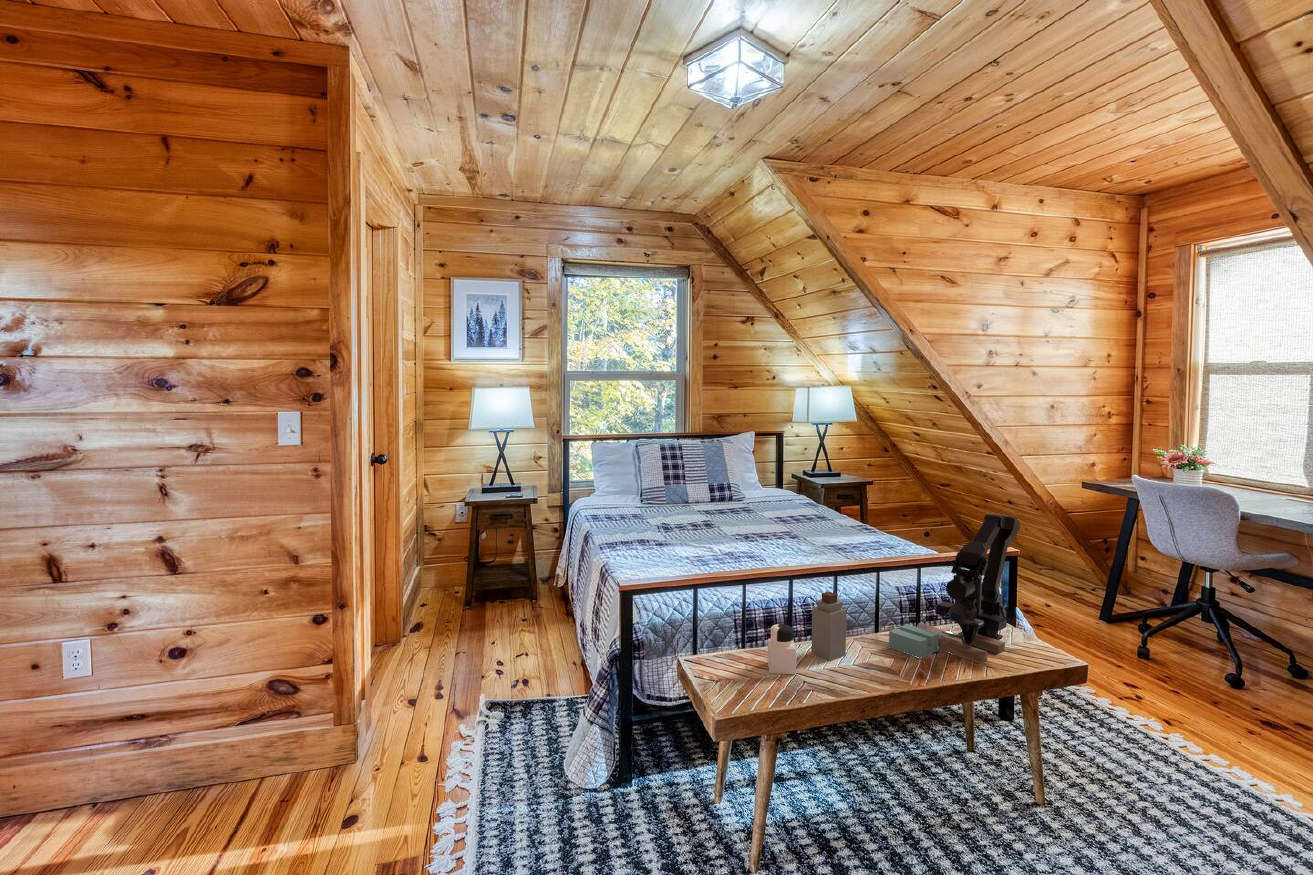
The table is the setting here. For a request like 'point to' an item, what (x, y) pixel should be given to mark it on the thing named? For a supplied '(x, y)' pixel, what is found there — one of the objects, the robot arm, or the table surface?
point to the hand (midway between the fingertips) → (968, 643)
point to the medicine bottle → (781, 650)
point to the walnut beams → (973, 652)
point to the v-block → (913, 640)
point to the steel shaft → (943, 633)
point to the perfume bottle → (829, 628)
